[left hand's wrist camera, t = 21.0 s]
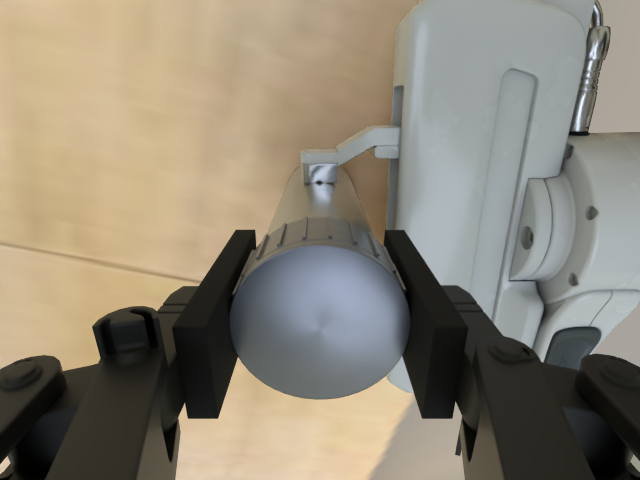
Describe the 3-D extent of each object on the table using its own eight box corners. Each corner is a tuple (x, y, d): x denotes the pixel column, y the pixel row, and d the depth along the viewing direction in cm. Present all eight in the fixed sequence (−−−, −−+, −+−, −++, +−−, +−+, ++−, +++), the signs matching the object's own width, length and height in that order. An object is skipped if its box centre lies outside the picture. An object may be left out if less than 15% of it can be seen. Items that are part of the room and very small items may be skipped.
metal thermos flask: (365, 203, 25) (426, 336, 11) (310, 236, 26) (297, 399, 12) (331, 145, 24) (347, 210, 10) (273, 183, 25) (208, 294, 10)
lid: (227, 329, 13) (207, 377, 11) (264, 192, 11) (250, 216, 9) (364, 365, 14) (373, 418, 11) (421, 241, 12) (445, 274, 9)
